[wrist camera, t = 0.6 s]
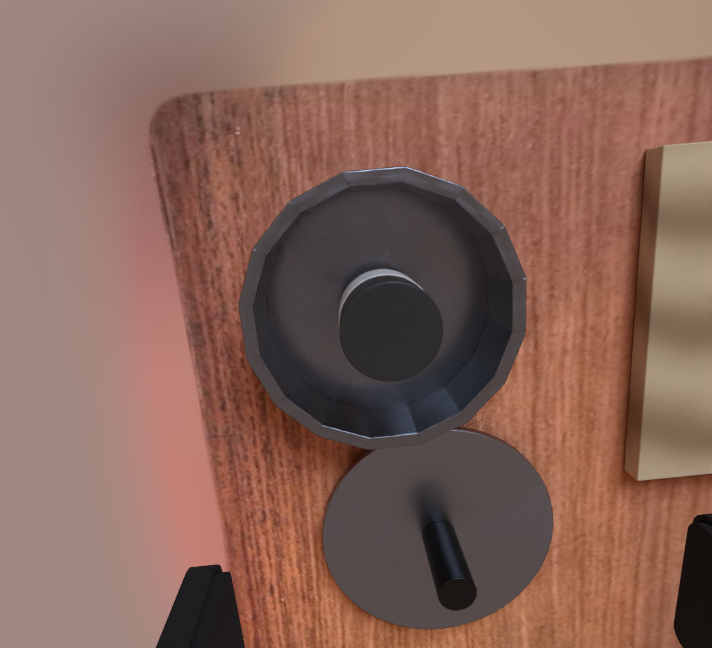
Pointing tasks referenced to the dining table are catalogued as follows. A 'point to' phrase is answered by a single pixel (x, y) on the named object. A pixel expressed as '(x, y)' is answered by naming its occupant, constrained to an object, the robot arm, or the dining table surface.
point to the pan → (412, 258)
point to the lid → (438, 529)
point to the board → (673, 318)
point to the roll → (388, 324)
